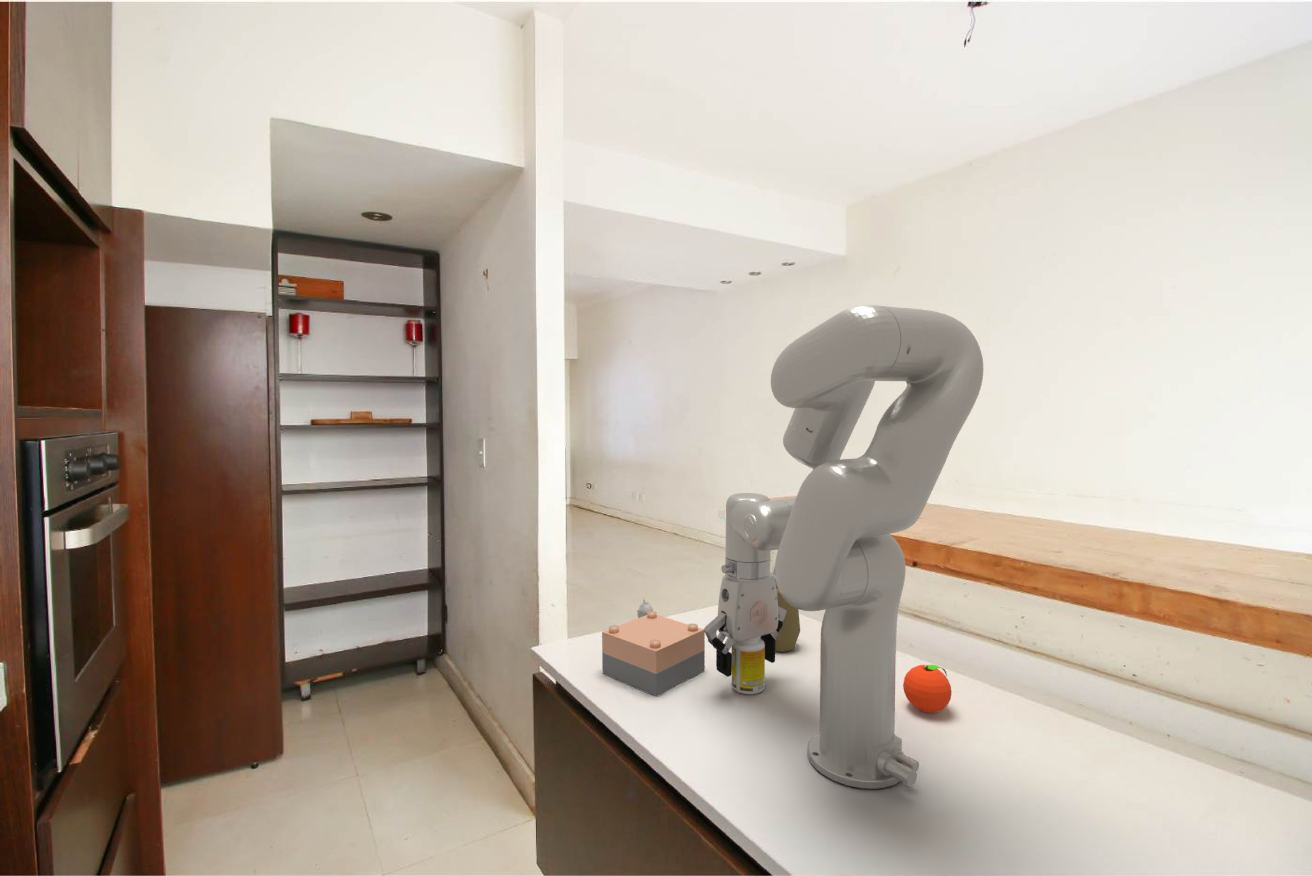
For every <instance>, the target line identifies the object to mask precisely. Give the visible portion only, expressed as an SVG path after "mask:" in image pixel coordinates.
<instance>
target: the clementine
mask: <svg viewBox="0 0 1312 876" xmlns="http://www.w3.org/2000/svg"><path fill="white" fill-rule="evenodd" d="M940 669H941V670H942V671H943V672H944V673H943V672H942V671H941V670H940ZM947 677H948V674H947V670H946V669H945V668H943V667H941V666H939V665H936V664H919V665H916V666H914V667H912V668H910V670H909V671H907V672H906V674H905V676H904V679H903V682H902V688H903V693H904V695H905V697H906V699H907V700H908V702H909V703H910V704H911V705H912V707H914V708H916V709H917V710H918V711H921V712H924V713H928V714H933V713H934V714H935V713H938V712H941V711H943V710H944V709H945V708H946V707H947V706H949V703H950V701H951V699H952V686H951V683H950V680H949V679H948V678H947Z"/></svg>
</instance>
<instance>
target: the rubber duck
mask: <svg viewBox="0 0 1312 876" xmlns="http://www.w3.org/2000/svg"><path fill="white" fill-rule="evenodd" d="M639 605H640V606H639V608H638V609H637V611H636V612H637V615H636V616H637V618H636V619H638V618H640V617H643V616H645V615H647V612H650V611H654V608H653V607H652V604H651V603H649V601H647V602H646V600H645V598H643V603H641V604H639Z"/></svg>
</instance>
